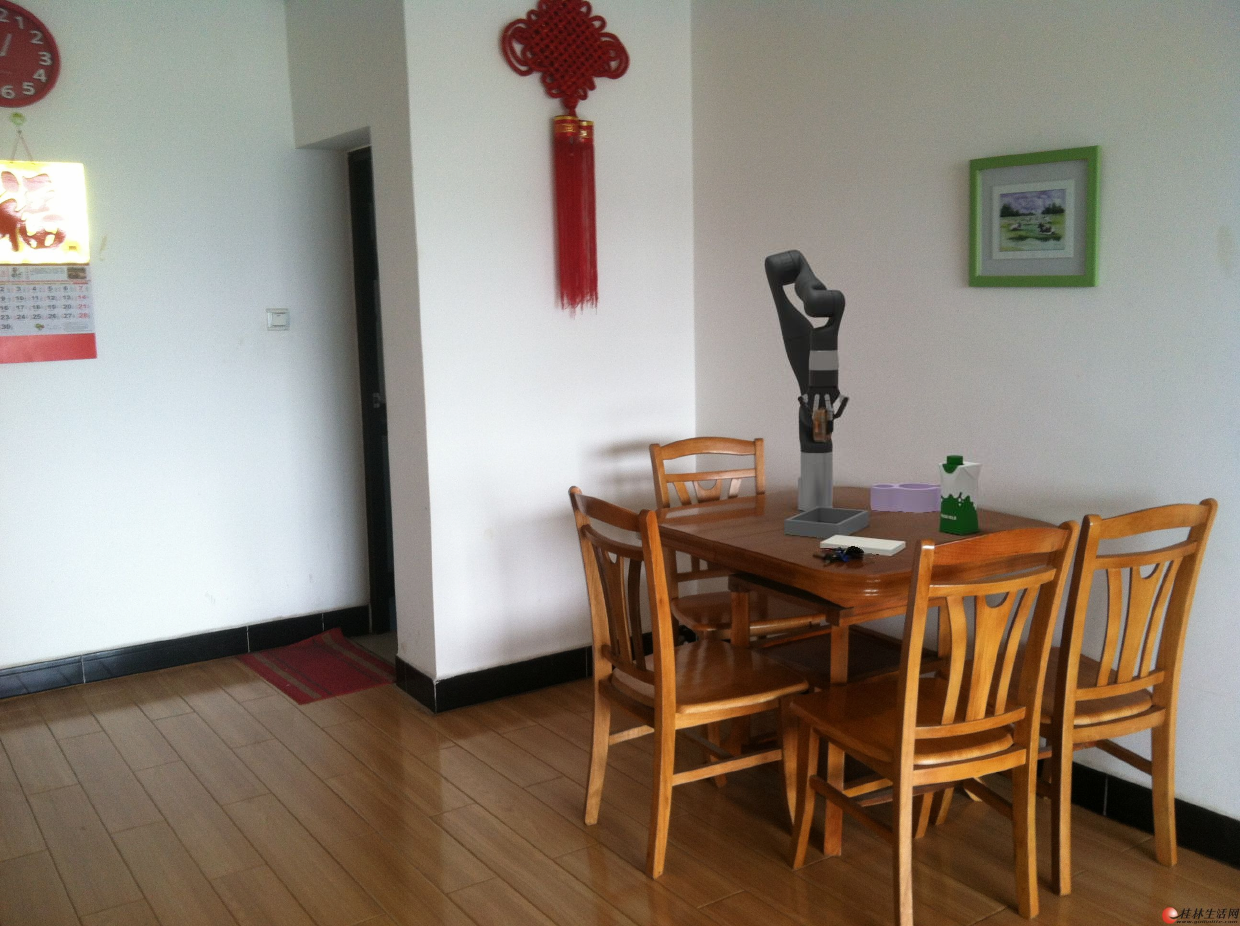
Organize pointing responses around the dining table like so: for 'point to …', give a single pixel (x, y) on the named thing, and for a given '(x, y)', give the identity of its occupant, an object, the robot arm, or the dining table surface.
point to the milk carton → (959, 495)
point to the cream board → (865, 544)
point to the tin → (820, 425)
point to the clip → (906, 497)
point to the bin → (811, 527)
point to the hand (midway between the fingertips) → (823, 434)
